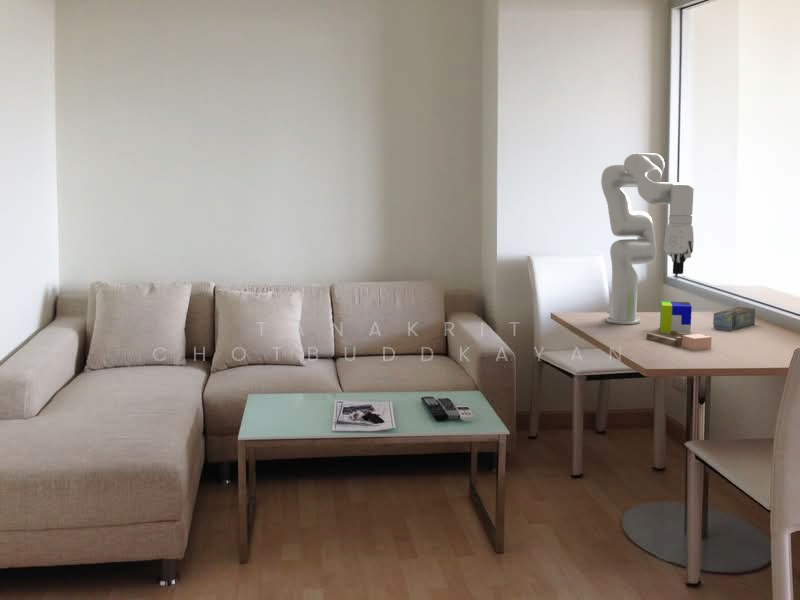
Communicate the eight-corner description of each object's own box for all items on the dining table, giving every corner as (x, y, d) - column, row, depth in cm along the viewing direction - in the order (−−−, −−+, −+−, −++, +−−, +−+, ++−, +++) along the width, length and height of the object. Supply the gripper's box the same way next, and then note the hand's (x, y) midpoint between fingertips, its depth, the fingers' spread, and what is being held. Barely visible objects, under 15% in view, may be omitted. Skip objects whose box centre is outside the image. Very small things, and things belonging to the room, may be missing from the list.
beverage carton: (711, 328, 356) (712, 310, 355) (735, 322, 370) (736, 305, 369) (732, 331, 351) (733, 313, 350) (755, 324, 364) (756, 307, 363)
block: (682, 347, 322) (682, 335, 322) (699, 345, 325) (699, 333, 324) (693, 350, 317) (694, 338, 316) (711, 348, 319) (711, 337, 319)
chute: (646, 338, 336) (646, 329, 336) (673, 335, 341) (673, 327, 341) (678, 346, 322) (678, 337, 321) (706, 343, 327) (706, 334, 327)
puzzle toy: (690, 333, 345) (691, 306, 343) (661, 332, 347) (662, 305, 345) (687, 329, 354) (689, 302, 353) (659, 328, 356) (660, 301, 355)
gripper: (657, 219, 332) (654, 271, 335) (687, 222, 319) (684, 277, 322) (674, 218, 335) (671, 270, 338) (704, 221, 322) (701, 275, 325)
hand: (677, 273), depth 330 cm, fingers closed
